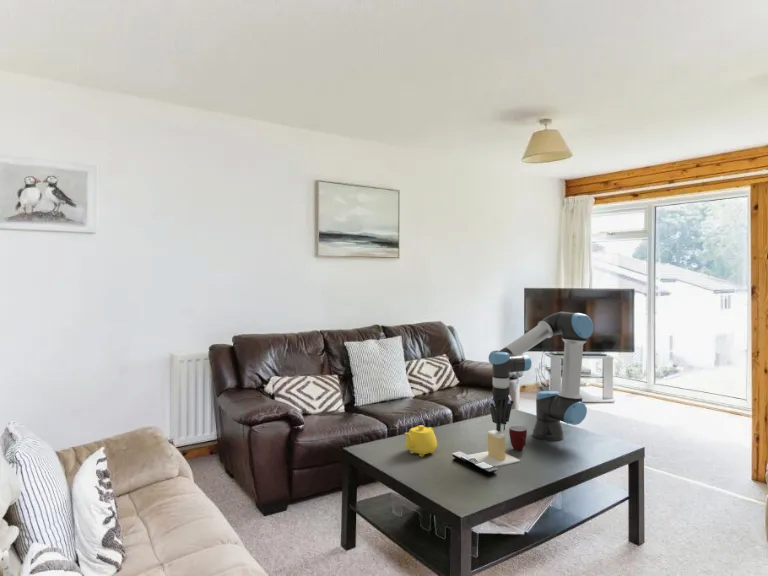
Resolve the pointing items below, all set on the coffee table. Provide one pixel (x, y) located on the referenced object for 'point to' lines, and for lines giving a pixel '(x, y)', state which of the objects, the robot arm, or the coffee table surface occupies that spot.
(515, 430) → the mug
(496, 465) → the mat
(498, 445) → the slab
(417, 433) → the teapot
